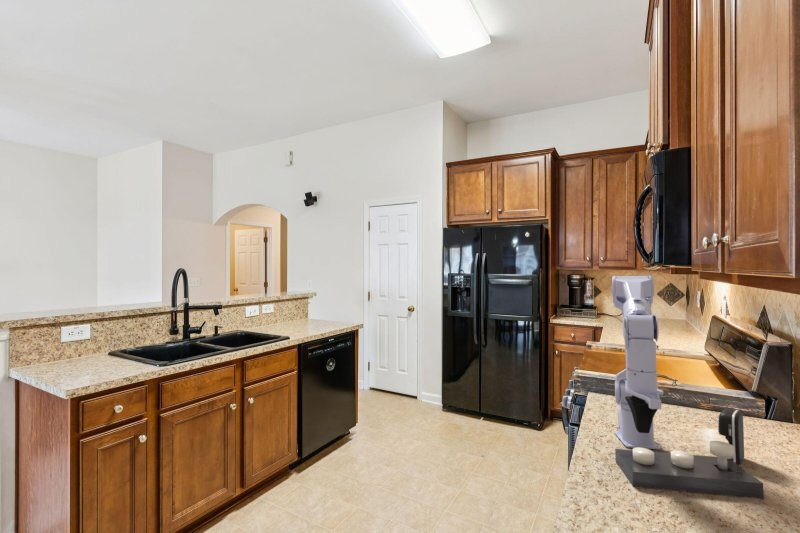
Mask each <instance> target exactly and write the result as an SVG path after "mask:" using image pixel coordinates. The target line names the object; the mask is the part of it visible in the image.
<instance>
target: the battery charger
mask: <svg viewBox="0 0 800 533" xmlns="http://www.w3.org/2000/svg"><path fill="white" fill-rule="evenodd" d="M717 423H718V426H717V427H718V431H717V432H718V434H719V435H721V436H723V437H725V440H726V441H727V443H728V444H731V445H733V446H734V452H735V458H733V459H731V460H732V461H734V462H735V463H736V464H738V465H739V466H741V464H742V463H743V460H744V458H745V440H744V438H745V437H744V435H745V434H744V433H745V431H744V415H743V411H740V410H738V409H732V408H725V409H723V410H722V411H721V412H720V414H719V415H718V422H717Z"/></svg>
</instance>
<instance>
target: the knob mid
mask: <svg viewBox="0 0 800 533" xmlns="http://www.w3.org/2000/svg"><path fill="white" fill-rule="evenodd" d="M670 453H671V463H672V464H674V465H676V466H678V467H682V468H693V467H694V456H693V455H694V454H692V453H689V452H688V451H683V450H679V449H678V450H674V449H673V450H671V451H670Z"/></svg>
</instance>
